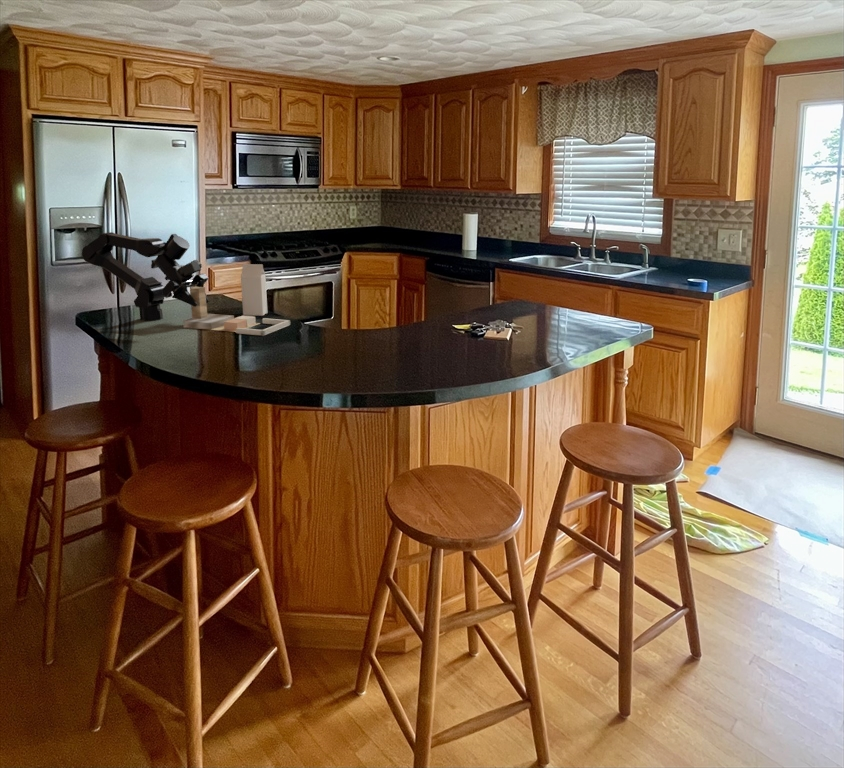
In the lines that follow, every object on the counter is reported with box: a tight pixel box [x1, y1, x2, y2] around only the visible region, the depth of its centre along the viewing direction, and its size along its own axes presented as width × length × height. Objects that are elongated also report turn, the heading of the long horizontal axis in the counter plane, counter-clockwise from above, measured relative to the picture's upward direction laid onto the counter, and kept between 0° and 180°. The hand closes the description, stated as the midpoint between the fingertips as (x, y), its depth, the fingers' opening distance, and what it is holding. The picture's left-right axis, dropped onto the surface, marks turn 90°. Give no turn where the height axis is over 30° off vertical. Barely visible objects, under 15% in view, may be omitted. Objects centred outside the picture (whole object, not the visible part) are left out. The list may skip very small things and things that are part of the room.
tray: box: [235, 317, 291, 336], centre depth 245 cm, size 10×17×3 cm, turn 160°
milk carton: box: [240, 263, 268, 317], centre depth 267 cm, size 7×7×19 cm
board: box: [186, 322, 261, 333], centre depth 250 cm, size 21×14×2 cm, turn 70°
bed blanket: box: [182, 286, 235, 330], centre depth 250 cm, size 11×13×12 cm
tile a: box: [234, 315, 257, 327], centre depth 250 cm, size 5×5×2 cm
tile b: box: [224, 319, 246, 331], centre depth 245 cm, size 5×5×2 cm
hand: (202, 304), depth 250 cm, fingers open, 6 cm apart
